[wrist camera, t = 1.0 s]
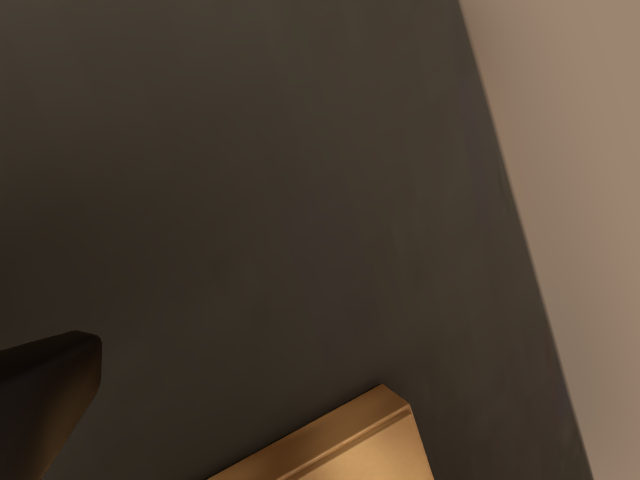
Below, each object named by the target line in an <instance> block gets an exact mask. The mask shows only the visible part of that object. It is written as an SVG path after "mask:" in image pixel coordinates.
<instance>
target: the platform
mask: <svg viewBox="0 0 640 480" xmlns="http://www.w3.org/2000/svg"><path fill="white" fill-rule="evenodd" d="M207 480H434V478H433V475H432V472H431V469H430V465H429V462H428V459H427V456H426V453H425V450H424V447H423V444H422V441H421V438H420V435H419V432H418V428H417V425H416V422H415V419H414V416H413V413H412V410H411V407H410V404H409V403H408V402H406V401H405V400H404V399H402V398H401V397H400V396H398V395H397V394H396V393H394V392H393V391H392V390H390V389H389V388H388V387H386V386H385V385H384V384H381V385H379V386H377V387H375V388H373V389H371V390H370V391H368V392H366V393H364V394H362V395H360V396H359V397H357V398H355V399H353V400H351V401H349V402H348V403H346V404H344V405H342V406H340V407H338V408H337V409H335V410H333V411H331V412H329V413H328V414H326V415H324V416H322V417H320V418H318V419H317V420H315V421H313V422H311V423H309V424H307V425H306V426H304V427H302V428H300V429H298V430H296V431H295V432H293V433H291V434H289V435H287V436H285V437H284V438H282V439H280V440H278V441H276V442H274V443H273V444H271V445H269V446H267V447H265V448H263V449H262V450H260V451H258V452H256V453H254V454H253V455H251V456H249V457H247V458H245V459H243V460H242V461H240V462H238V463H236V464H234V465H232V466H231V467H229V468H227V469H225V470H223V471H221V472H220V473H218V474H216V475H214V476H212V477H210V478H209V479H207Z"/></svg>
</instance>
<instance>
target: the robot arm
mask: <svg viewBox="0 0 640 480" xmlns="http://www.w3.org/2000/svg"><path fill="white" fill-rule="evenodd" d="M101 360H102V342H101V339H100V337H99V336H98V335H95V334H91V333H86V332H82V331H76V330H74V331H70V332H66V333H63V334H59V335H55V336H52V337H48V338H44V339H41V340H37V341H34V342H30V343H26V344H23V345H19V346H15V347H12V348H8V349H5V350H1V351H0V480H41V478H42V477H43V476H44V474H45V473H46V471H47V470H48V468H49V467H50V465H51V464H52V462H53V461H54V459H55V457H56V456H57V454H58V453H59V451H60V450H61V448H62V446H63V445H64V443H65V442H66V440H67V439H68V437H69V435H70V434H71V432H72V431H73V429H74V428H75V426H76V425H77V423H78V421H79V420H80V418H81V417H82V415H83V414H84V412H85V410H86V409H87V407H88V406H89V404H90V403H91V401H92V399H93V398H94V396H95V395H96V393H97V391H98V388H99V385H100V381H101Z"/></svg>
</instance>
